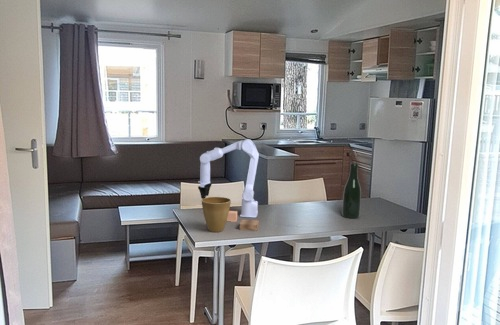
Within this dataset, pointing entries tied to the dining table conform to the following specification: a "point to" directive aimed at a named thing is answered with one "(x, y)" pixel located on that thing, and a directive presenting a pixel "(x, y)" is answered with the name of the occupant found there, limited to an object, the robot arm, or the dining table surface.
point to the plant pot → (216, 212)
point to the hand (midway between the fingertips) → (204, 197)
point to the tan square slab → (249, 224)
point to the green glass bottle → (352, 194)
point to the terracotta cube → (232, 216)
